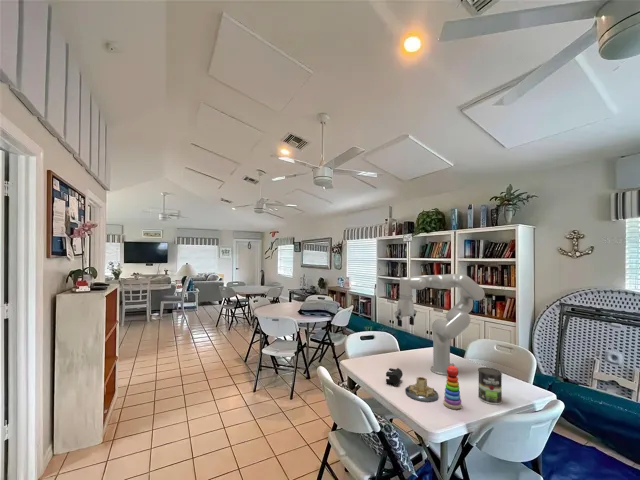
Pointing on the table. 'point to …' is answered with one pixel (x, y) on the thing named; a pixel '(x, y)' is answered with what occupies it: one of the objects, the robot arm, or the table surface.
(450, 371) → the stacking toy
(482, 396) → the coffee can
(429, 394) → the tan faceted octagonal piece
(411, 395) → the plate
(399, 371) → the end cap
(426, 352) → the table surface
